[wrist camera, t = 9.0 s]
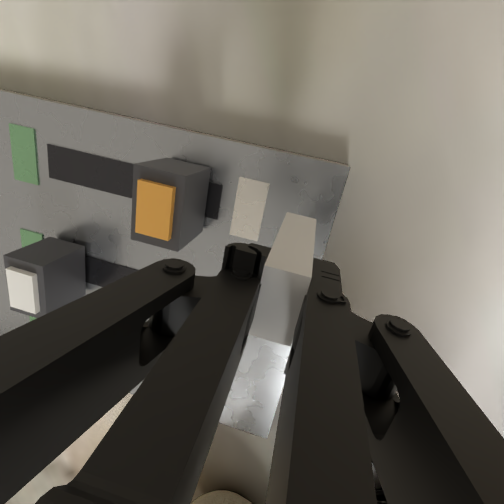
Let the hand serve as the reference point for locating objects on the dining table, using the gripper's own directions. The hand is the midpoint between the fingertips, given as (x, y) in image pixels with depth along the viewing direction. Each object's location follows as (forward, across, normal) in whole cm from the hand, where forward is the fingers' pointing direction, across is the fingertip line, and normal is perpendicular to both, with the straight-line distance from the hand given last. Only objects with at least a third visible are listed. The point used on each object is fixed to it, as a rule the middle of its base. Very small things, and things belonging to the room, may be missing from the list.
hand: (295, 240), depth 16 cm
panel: (+6, +12, +8) cm, 16 cm away
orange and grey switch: (+5, +8, 0) cm, 9 cm away
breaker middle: (+5, +17, +8) cm, 19 cm away
